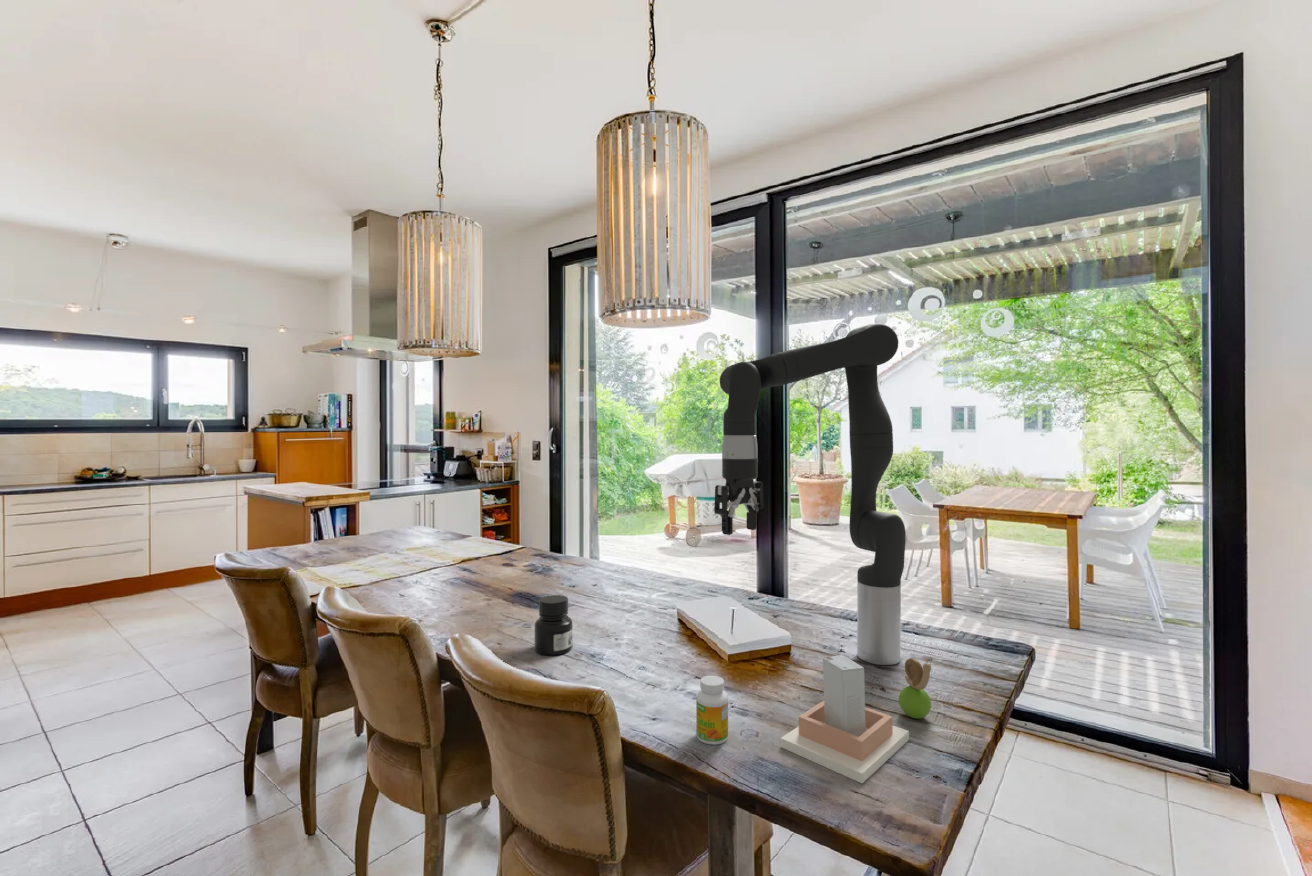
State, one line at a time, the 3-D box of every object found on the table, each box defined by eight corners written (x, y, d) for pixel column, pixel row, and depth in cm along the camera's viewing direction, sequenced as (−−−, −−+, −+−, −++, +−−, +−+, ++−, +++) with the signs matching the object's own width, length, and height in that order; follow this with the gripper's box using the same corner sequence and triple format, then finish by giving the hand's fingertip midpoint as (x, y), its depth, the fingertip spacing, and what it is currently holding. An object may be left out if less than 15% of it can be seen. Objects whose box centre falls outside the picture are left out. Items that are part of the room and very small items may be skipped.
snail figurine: (916, 729, 102) (917, 660, 101) (892, 712, 108) (892, 647, 108) (942, 724, 103) (942, 657, 103) (916, 707, 109) (916, 644, 109)
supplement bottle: (690, 739, 98) (690, 682, 98) (705, 726, 103) (705, 671, 103) (719, 749, 95) (718, 690, 95) (733, 734, 100) (733, 678, 100)
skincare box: (867, 741, 95) (867, 667, 95) (843, 746, 93) (843, 671, 93) (844, 723, 101) (844, 653, 100) (821, 727, 99) (821, 656, 99)
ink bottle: (564, 658, 133) (563, 606, 133) (527, 655, 135) (527, 604, 135) (578, 643, 143) (578, 594, 143) (544, 640, 145) (543, 592, 144)
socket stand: (832, 711, 108) (832, 687, 108) (908, 740, 98) (908, 713, 98) (780, 747, 96) (780, 720, 96) (862, 783, 86) (862, 753, 86)
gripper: (733, 458, 118) (733, 538, 118) (773, 455, 128) (773, 529, 128) (704, 457, 123) (704, 534, 123) (745, 454, 133) (745, 525, 133)
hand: (739, 531), depth 126 cm, fingers open, 8 cm apart
